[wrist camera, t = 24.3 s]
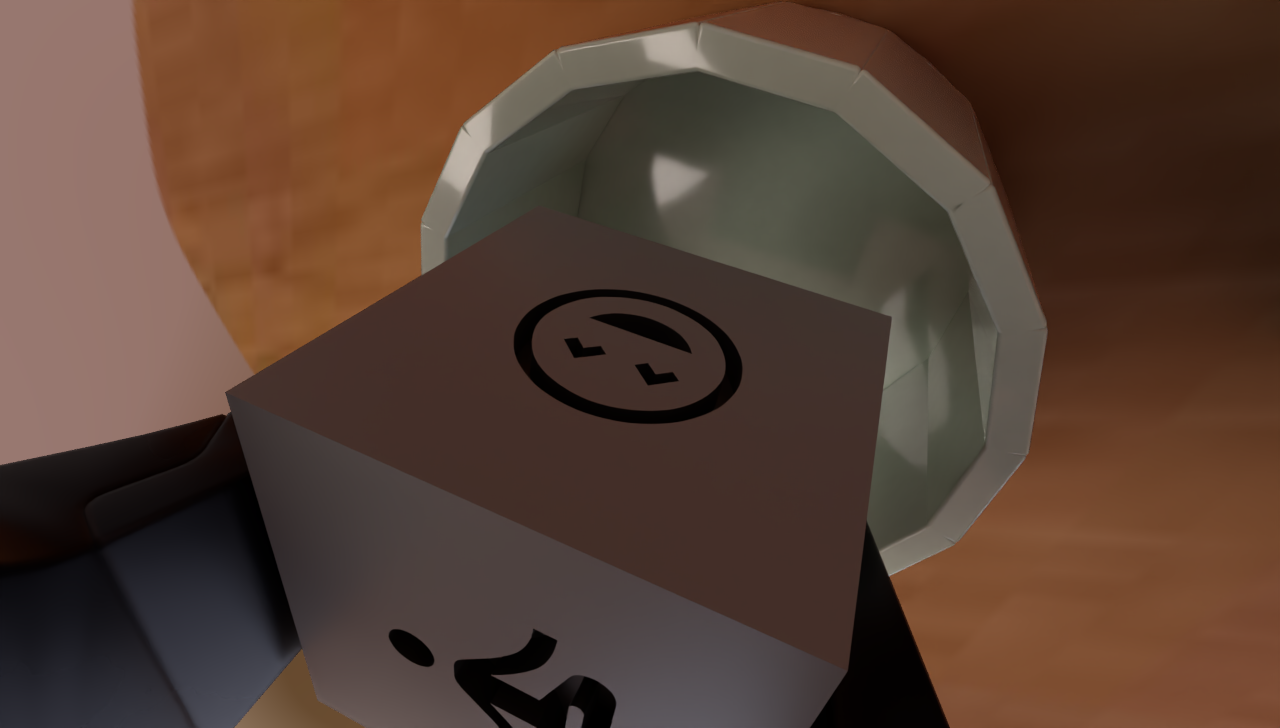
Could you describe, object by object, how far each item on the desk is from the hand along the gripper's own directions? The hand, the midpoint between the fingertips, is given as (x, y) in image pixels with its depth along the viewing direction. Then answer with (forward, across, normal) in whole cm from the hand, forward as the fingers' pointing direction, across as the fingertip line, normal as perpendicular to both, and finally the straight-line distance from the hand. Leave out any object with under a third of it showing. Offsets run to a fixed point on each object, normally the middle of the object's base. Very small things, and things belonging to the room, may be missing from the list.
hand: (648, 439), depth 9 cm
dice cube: (+1, 0, 0) cm, 1 cm away
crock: (+8, 0, 0) cm, 8 cm away
